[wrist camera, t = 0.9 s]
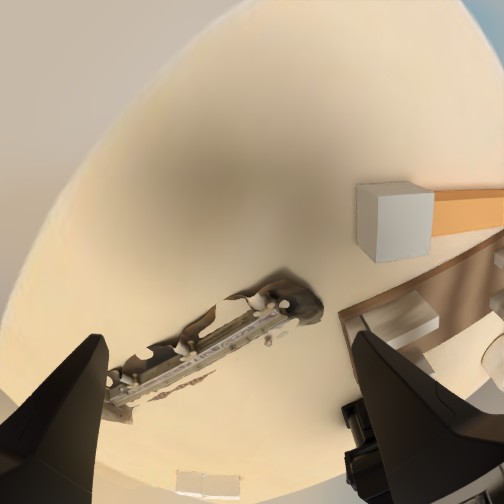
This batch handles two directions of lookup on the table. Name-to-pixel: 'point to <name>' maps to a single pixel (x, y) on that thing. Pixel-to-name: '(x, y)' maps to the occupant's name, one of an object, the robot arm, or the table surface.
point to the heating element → (207, 346)
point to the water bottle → (495, 362)
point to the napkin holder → (208, 485)
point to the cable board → (433, 304)
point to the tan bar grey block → (419, 217)
